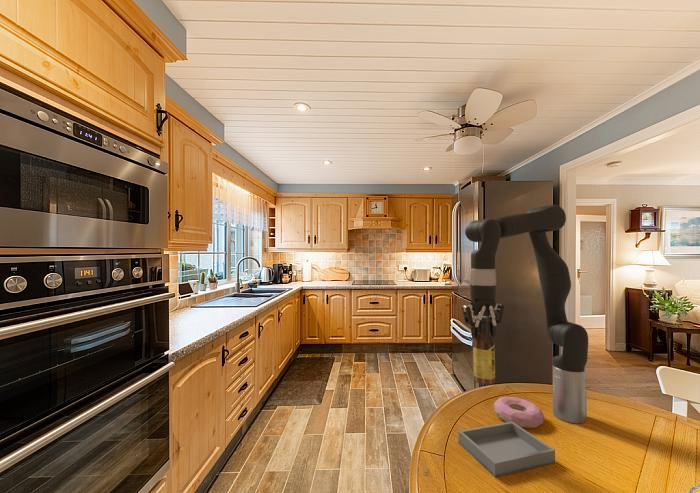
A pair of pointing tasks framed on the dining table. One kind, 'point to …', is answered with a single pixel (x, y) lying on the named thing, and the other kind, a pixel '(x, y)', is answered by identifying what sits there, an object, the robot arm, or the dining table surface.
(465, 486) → the dining table surface
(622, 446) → the dining table surface
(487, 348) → the sauce bottle
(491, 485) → the dining table surface
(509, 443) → the tray
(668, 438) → the dining table surface
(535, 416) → the donut
